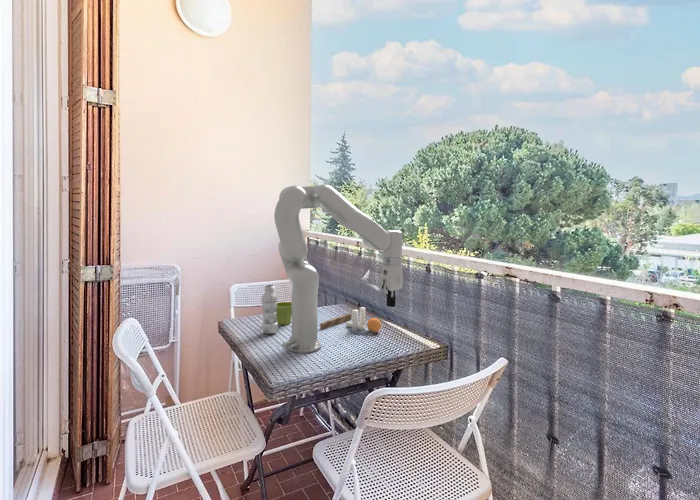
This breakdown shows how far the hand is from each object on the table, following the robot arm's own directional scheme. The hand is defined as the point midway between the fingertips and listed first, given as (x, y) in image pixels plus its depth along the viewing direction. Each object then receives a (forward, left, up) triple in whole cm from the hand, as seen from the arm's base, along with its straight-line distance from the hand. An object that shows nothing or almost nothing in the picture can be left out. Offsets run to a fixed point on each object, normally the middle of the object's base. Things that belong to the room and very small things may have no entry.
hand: (390, 306), depth 156 cm
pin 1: (-3, +16, -13) cm, 21 cm away
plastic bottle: (-28, +41, -13) cm, 51 cm away
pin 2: (+3, +16, -13) cm, 21 cm away
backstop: (0, +28, -13) cm, 31 cm away
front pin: (0, +13, -12) cm, 18 cm away
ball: (+2, +9, -10) cm, 14 cm away
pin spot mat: (0, +14, -13) cm, 19 cm away
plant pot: (-15, +47, -13) cm, 51 cm away
